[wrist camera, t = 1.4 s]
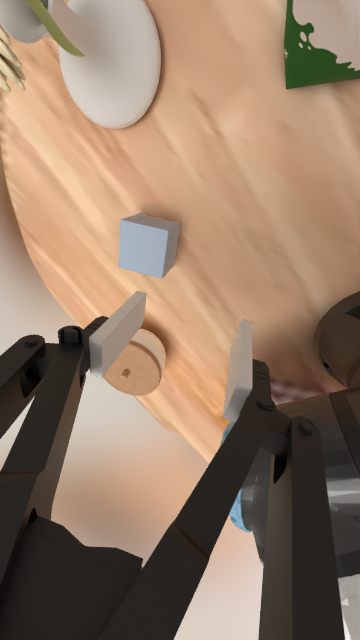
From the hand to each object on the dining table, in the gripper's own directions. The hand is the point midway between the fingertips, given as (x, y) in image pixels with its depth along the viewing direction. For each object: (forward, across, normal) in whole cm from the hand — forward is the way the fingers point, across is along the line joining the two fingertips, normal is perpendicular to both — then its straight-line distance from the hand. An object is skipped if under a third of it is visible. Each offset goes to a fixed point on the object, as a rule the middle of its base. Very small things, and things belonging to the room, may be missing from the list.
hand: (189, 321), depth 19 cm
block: (+19, +9, 0) cm, 21 cm away
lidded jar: (+19, +9, +19) cm, 29 cm away
